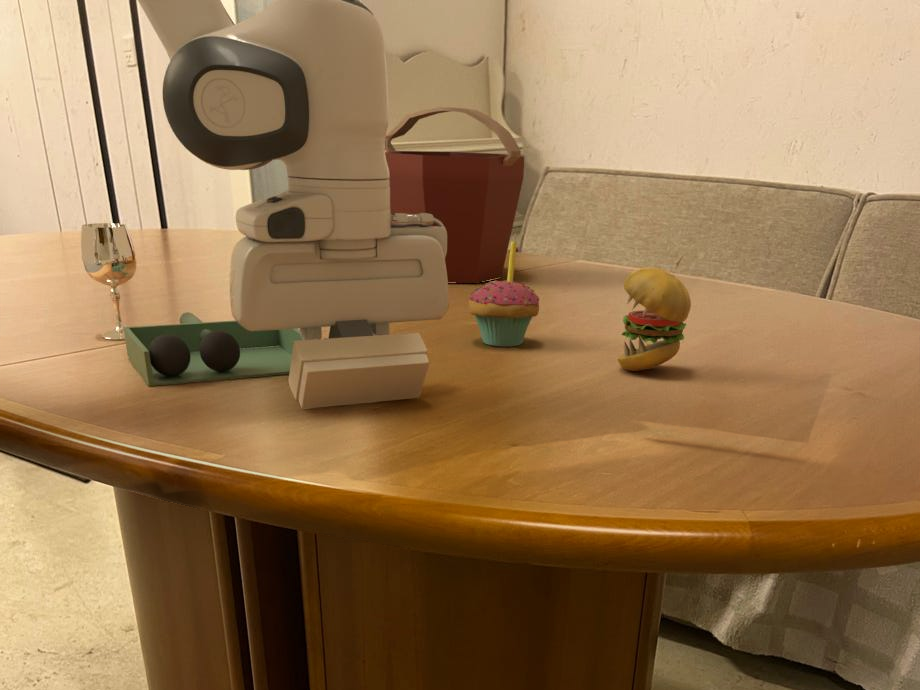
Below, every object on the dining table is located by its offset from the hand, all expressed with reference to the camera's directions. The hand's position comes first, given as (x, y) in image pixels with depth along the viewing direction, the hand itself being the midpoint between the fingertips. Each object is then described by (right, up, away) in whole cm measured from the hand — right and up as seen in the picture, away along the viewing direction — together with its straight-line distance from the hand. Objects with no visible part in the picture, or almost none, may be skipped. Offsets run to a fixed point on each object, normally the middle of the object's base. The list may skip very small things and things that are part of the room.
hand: (346, 373), depth 88 cm
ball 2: (-14, +4, +6) cm, 15 cm away
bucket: (+8, +37, +70) cm, 80 cm away
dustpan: (-17, +6, +14) cm, 23 cm away
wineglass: (-30, +10, +21) cm, 38 cm away
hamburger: (+31, +4, +13) cm, 34 cm away
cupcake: (+16, +10, +24) cm, 30 cm away
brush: (+2, -2, -4) cm, 5 cm away
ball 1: (-18, +3, +3) cm, 19 cm away
